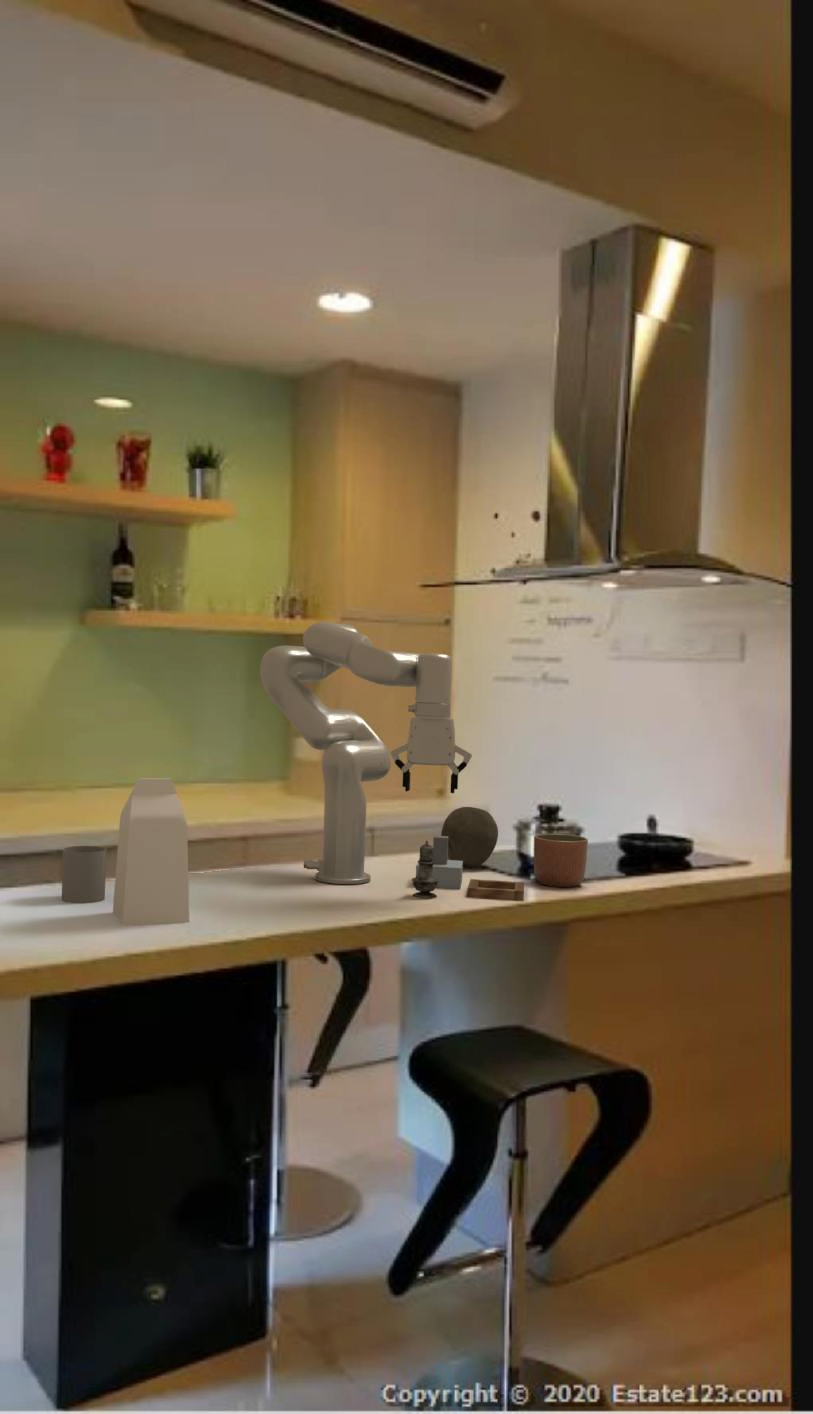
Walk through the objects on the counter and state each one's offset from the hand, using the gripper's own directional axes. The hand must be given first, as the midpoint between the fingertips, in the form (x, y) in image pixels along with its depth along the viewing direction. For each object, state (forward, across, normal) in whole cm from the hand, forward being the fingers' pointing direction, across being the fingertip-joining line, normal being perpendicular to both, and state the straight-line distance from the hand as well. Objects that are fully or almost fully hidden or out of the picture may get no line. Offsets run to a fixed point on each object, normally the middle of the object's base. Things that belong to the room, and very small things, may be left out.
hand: (429, 791), depth 239 cm
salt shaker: (+23, 0, 0) cm, 23 cm away
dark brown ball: (+22, +7, +40) cm, 46 cm away
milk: (+22, -49, -36) cm, 64 cm away
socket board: (+22, +15, +7) cm, 28 cm away
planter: (+23, +29, +24) cm, 44 cm away
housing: (+23, +2, +15) cm, 27 cm away
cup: (+22, -67, -23) cm, 74 cm away
